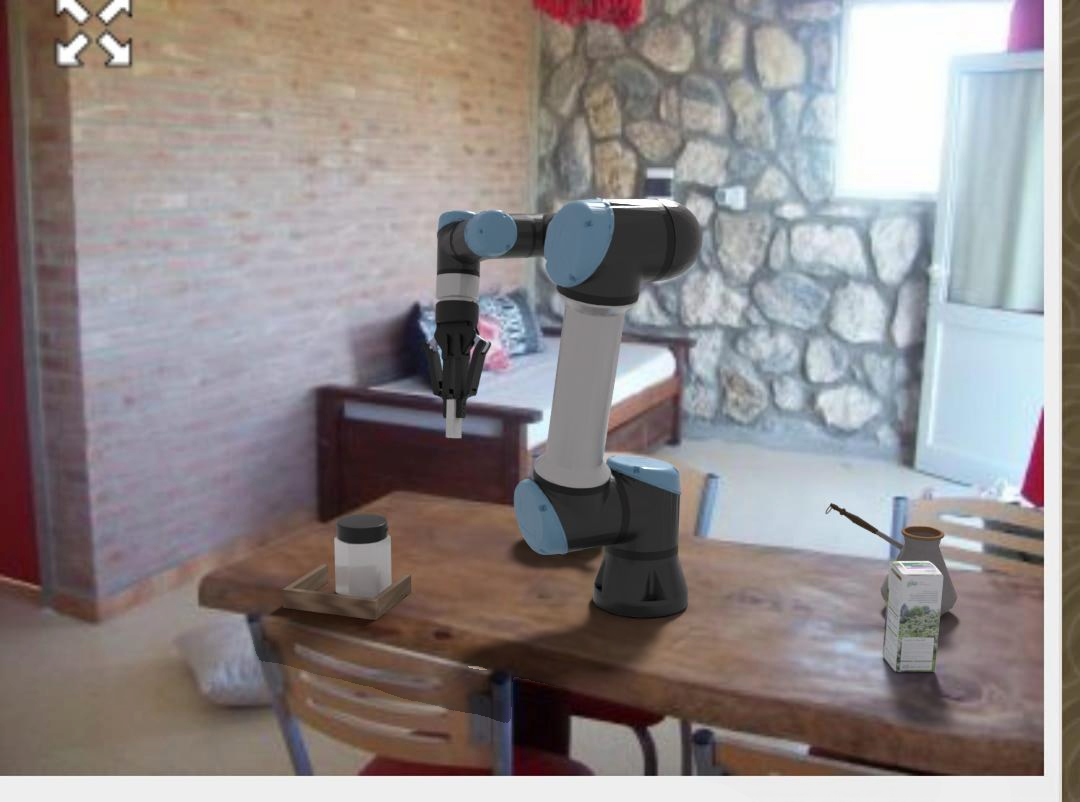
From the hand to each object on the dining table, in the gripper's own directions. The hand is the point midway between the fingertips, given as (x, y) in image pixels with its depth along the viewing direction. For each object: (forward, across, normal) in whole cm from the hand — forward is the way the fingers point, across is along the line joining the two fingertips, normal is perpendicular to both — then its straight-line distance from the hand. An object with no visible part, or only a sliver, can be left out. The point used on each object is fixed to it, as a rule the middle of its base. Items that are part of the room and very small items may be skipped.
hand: (453, 437), depth 204 cm
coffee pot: (+26, -69, -21) cm, 76 cm away
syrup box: (+32, -76, +1) cm, 83 cm away
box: (+27, +7, +18) cm, 33 cm away
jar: (+26, +7, +15) cm, 31 cm away
